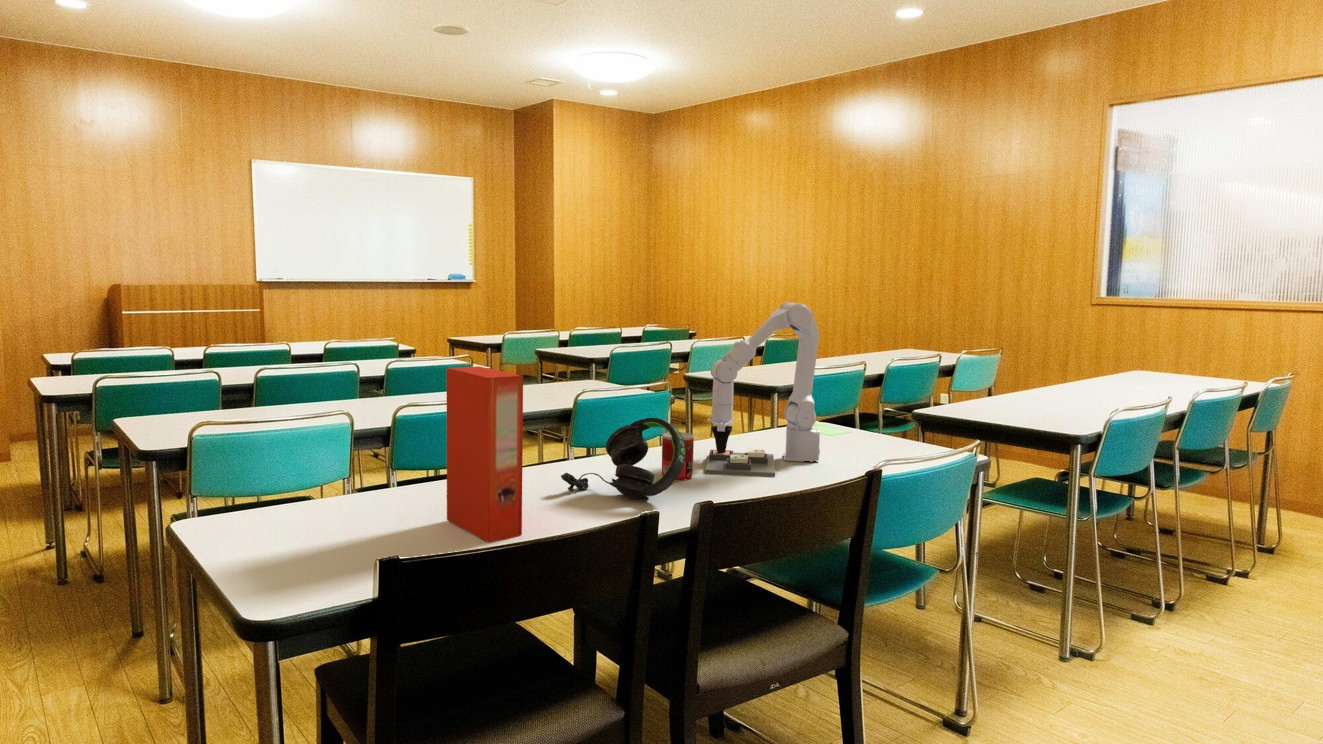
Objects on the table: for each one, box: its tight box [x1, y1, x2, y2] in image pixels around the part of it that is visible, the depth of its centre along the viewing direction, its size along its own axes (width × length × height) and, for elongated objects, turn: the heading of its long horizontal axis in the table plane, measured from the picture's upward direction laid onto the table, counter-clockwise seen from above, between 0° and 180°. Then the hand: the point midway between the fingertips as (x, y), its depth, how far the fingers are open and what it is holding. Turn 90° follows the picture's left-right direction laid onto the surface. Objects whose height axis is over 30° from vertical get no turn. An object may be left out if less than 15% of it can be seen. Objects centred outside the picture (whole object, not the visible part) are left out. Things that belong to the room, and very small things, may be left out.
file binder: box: [446, 365, 524, 543], centre depth 171 cm, size 8×17×32 cm, turn 39°
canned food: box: [661, 431, 695, 481], centre depth 217 cm, size 8×8×11 cm
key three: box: [712, 449, 730, 455], centre depth 237 cm, size 5×5×1 cm
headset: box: [560, 417, 686, 499], centre depth 198 cm, size 18×14×29 cm
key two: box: [730, 455, 748, 464], centre depth 226 cm, size 5×5×1 cm
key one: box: [746, 448, 766, 457], centre depth 233 cm, size 5×5×1 cm
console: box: [705, 449, 776, 478], centre depth 232 cm, size 18×22×2 cm
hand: (721, 452), depth 236 cm, fingers closed, pressing on key three
